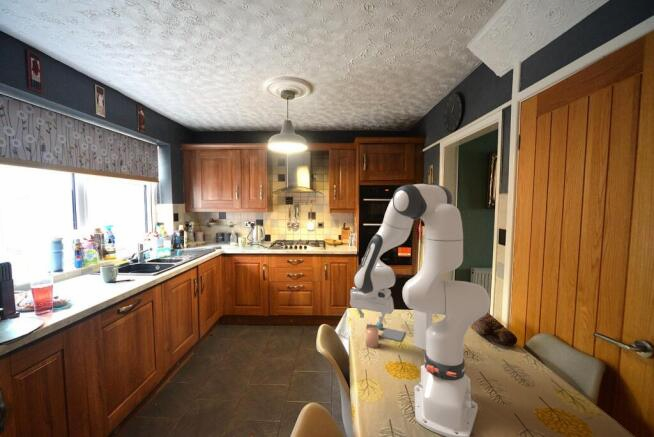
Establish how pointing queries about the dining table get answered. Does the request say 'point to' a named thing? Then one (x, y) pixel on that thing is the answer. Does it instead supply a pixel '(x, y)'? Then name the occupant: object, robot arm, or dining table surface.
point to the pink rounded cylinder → (372, 337)
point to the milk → (421, 328)
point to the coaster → (393, 334)
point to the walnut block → (371, 326)
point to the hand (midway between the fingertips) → (371, 319)
